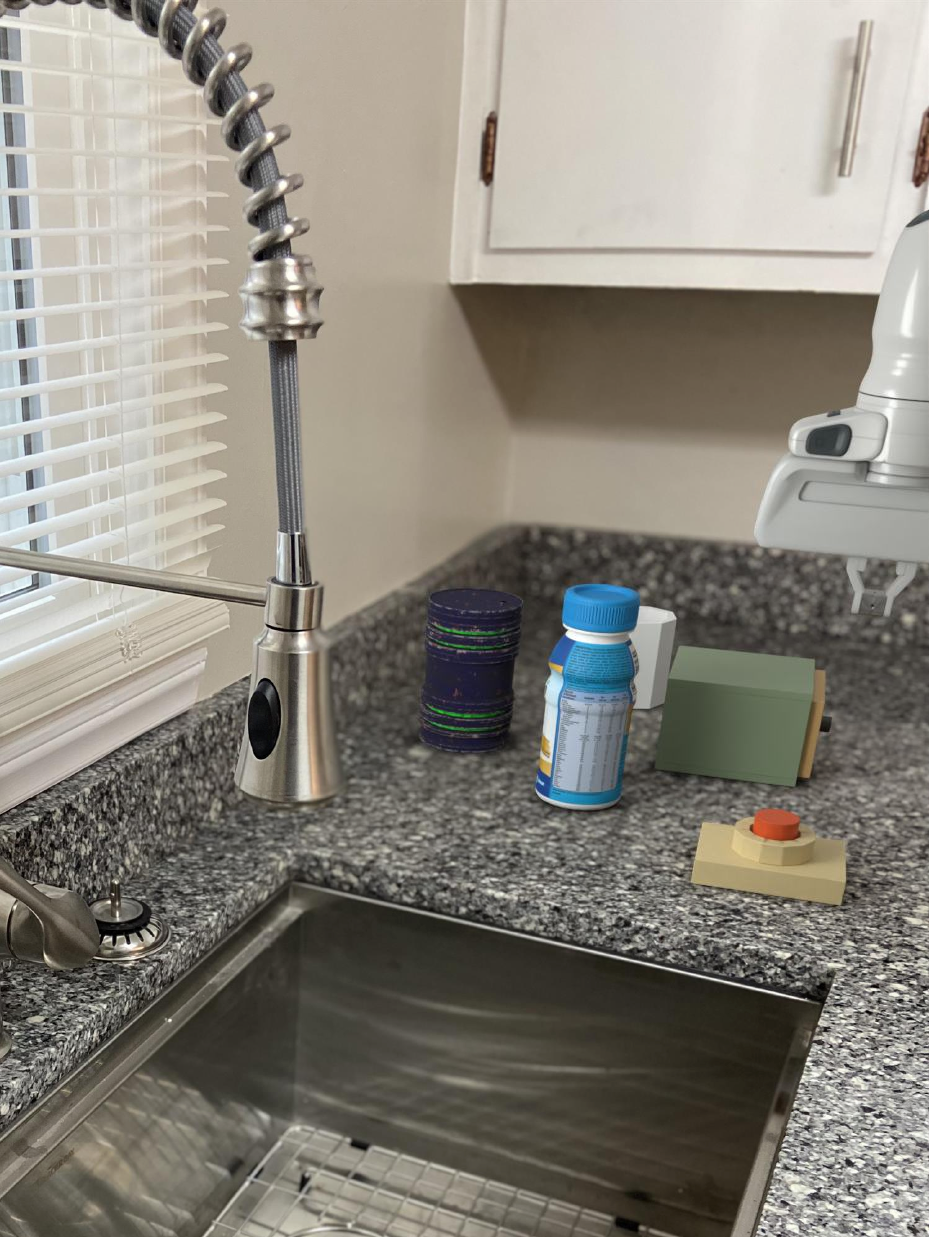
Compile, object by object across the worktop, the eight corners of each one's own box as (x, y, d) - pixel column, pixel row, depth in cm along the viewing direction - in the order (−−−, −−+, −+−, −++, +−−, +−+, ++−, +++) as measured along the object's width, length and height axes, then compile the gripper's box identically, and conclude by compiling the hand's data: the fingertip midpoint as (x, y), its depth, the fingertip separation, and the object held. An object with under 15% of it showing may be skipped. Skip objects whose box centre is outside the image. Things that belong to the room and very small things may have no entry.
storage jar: (409, 747, 153) (419, 606, 146) (426, 718, 161) (436, 584, 155) (504, 757, 150) (518, 615, 144) (516, 728, 159) (530, 592, 152)
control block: (840, 864, 127) (849, 822, 125) (841, 905, 120) (850, 861, 118) (699, 843, 131) (705, 802, 129) (690, 883, 123) (697, 840, 121)
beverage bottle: (577, 819, 136) (604, 607, 126) (514, 791, 142) (536, 587, 133) (640, 802, 140) (670, 595, 131) (576, 775, 146) (601, 576, 137)
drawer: (823, 743, 152) (838, 671, 149) (822, 780, 143) (838, 704, 139) (688, 727, 157) (700, 657, 153) (679, 762, 147) (691, 687, 144)
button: (796, 831, 124) (800, 812, 124) (795, 846, 121) (799, 827, 121) (753, 824, 126) (756, 806, 125) (751, 840, 123) (754, 821, 122)
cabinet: (797, 747, 154) (815, 659, 150) (795, 787, 144) (813, 693, 139) (666, 731, 158) (679, 645, 154) (654, 769, 148) (667, 678, 143)
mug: (671, 693, 171) (684, 610, 166) (655, 713, 164) (668, 628, 159) (571, 679, 175) (580, 598, 171) (551, 698, 168) (561, 614, 164)
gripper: (1056, 441, 111) (1007, 620, 117) (775, 420, 117) (742, 591, 123) (1066, 452, 105) (1014, 639, 112) (772, 430, 112) (738, 608, 118)
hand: (869, 614), depth 117 cm, fingers closed
